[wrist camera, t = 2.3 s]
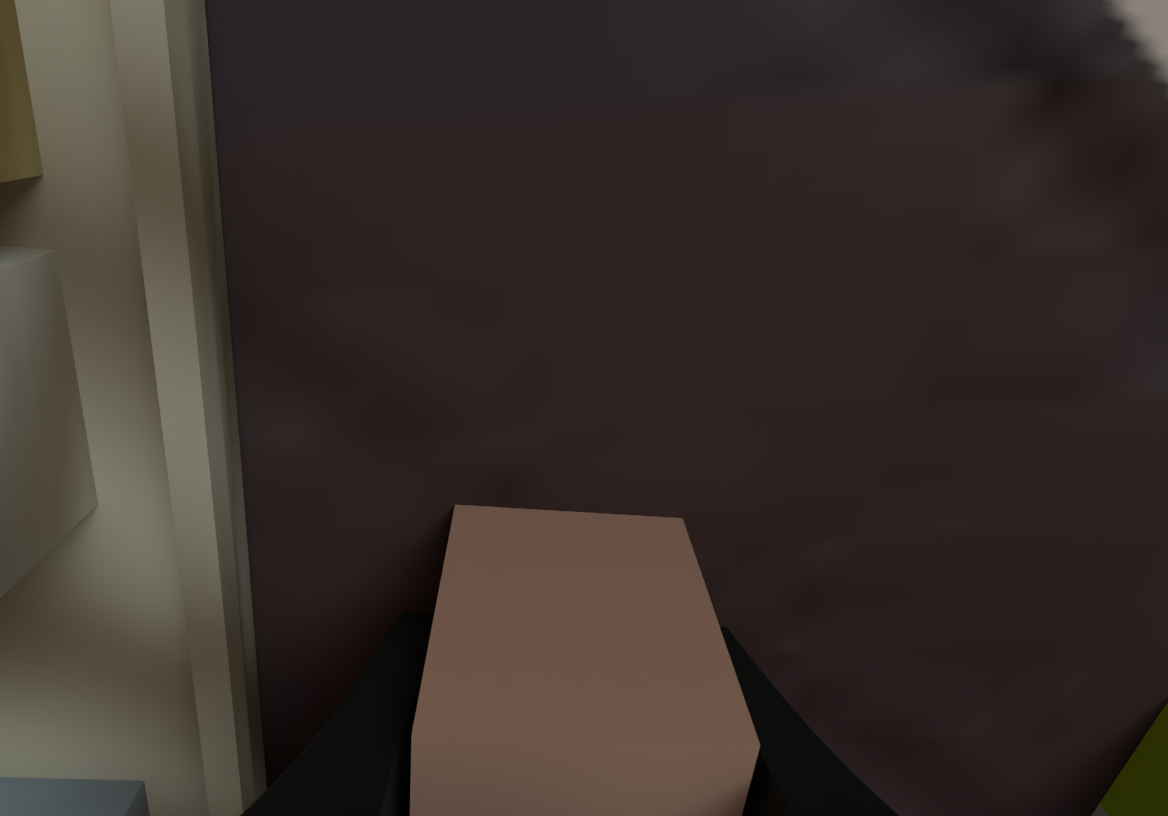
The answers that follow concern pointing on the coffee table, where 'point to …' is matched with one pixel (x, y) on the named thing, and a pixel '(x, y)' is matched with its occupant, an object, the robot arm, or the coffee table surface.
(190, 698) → the rack
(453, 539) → the terracotta block
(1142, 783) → the puzzle toy
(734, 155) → the coffee table surface
